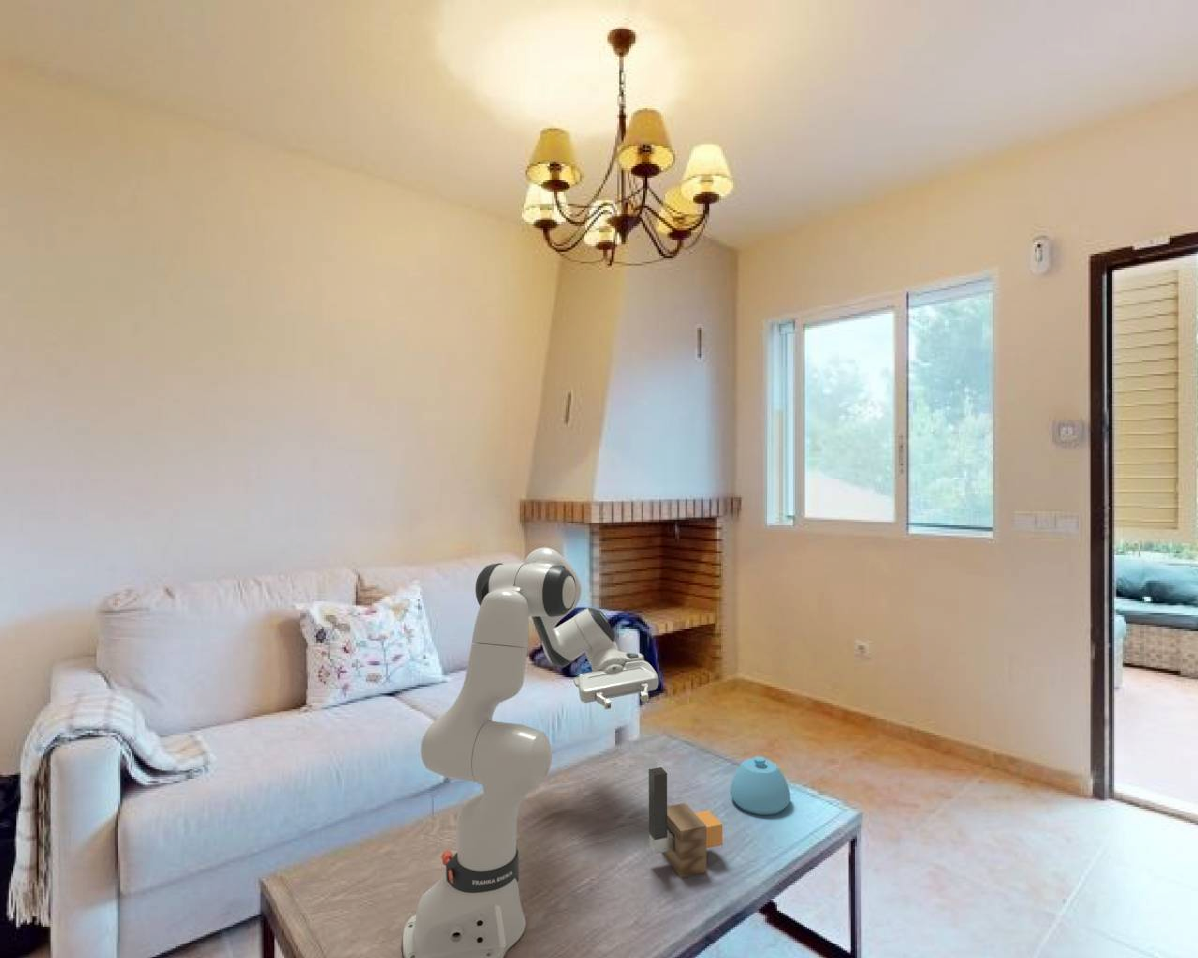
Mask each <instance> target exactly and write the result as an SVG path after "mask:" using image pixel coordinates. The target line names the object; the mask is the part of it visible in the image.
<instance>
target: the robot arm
mask: <svg viewBox="0 0 1198 958" xmlns="http://www.w3.org/2000/svg"><path fill="white" fill-rule="evenodd" d="M474 589H475V597H476V600H477V603H478V604H479V609H478V612H477V613H478V614H477V615H476V620H475V624H474V626H473V627H474V628H473V632H472V636H471V637H472V639H471V646H470V652H469V658H468V663H467V668H466V674H465V677H464V681H463V685H462V688H461V690H460V692H459V694H458V695H457V698H456V700H455V701H454V702H453V704H452V705H451V707H449V709H448V710H446V712H445V713H444V714H442V715H441V716H440V717H438V718H437V719H436V720H434V721H433V722H432V723H431V724H430V725H429V727H427V730H426V731H425V733H424V734H423V736H422V740H421V743H420V744H421V746H420V755H421V760H422V763H423V765H424V767H425V768H426V770H428V771H429V772H432V773H435V774H437V775H439V776H442V777H444V778H446V779H450V780H456V781H464V782H469V783H470V782H471V783H477V784H479V785H481V787H482V793H481V794H479V795H476V796H474V797H473V798H471V799H470V800H469V801H468V800H467V802H466V803H464V805H463V806H462V807H461V809H460V810H459V813H458V816H457V819H456V853H455V854H454V855H453V853H452V851H451V850H445V851H443V853H442V854H441V860H442V865H444V866H445V875H444V876H443V877H442V878H441V879H439V880H438V881H437V882H436V883H435V884H433V885H432V886H431V887H429V889H427V890H426V891H425V892H424V893H423V895H422V896H421V898H420V900H419V902H418V904H417V905H418V906H417V908H416V914H414V915H412V916H411V917H410V918H409V919H408V920H407V922H406V924H405V926H404V929H403V934H402V953H403V958H504V957H505V955H506V953H507V951H508V950H509V949H510V948H511V947H512V946H513V945H515V944H516V943H517V942H518V940H520V939H521V937H522V935H523V934H524V932H525V929H526V925H527V922H526V917H525V914H524V910H523V907H522V901H521V897H520V888H519V880H520V879H519V877H520V853H519V850H518V846H517V829H518V828H517V827H518V817H519V816H518V813H519V810H520V807H521V804H522V803H523V800H524V799H525V797H526V796H527V795H528V794H529V792H530V791H532V790H533V789H534V788H536V787H538V786H539V785H540V784H542V782H543V781H544V780H545V778H546V777H547V776H548V774H549V772H550V769H551V766H552V761H553V750H552V745H551V742H550V740H549V737H548V736H547V735H546V733H545V732H544V731H541V730H538V729H536V728H533V727H531V726H528V725H525V724H522V723H521V724H520V723H512V722H505V721H504V722H503V721H495V720H493V717H494V713H495V711H496V709H497V707H498V706H499V704H500V703H503V702H506V701H507V700H510V699H512V698H514V697H515V696H516V695H517V694H519V692H520V691H521V689H522V688H523V686H524V680H525V673H526V672H525V671H526V666H527V656H528V648H529V647H528V646H529V633H530V620H529V619H530V617H531V618H532V621H533V623H534V625H535V629H536V631H537V633H538V636H539V638H540V640H541V645H542V649H543V653H544V654H545V657H546V659H547V660H548V662H550V663H551V664H552V665H553V666H555V667H559V668H560V667H562V668H565V667H567V666H568V665H570V664H571V663H573V662H574V661H575V660H576V659H578V658H579V657H581V656H582V655H584V654H585V656H586V659H587V661H588V663H589V664H590V666H591V670H592V671H591V672H585V673H581V674H578V675H577V676H575V677H574V678H573V683H574V685H575V686H576V688H578V694H579V698H580V701H581V702H582V703H584V704H589V703H590V704H591V703H594V702H596V703H597V704H600V705H601V706H603V708H604V710H609V709H612V701H611V700H610V699H615V698H618V697H624V696H629V695H633V694H639V693H640V700H641V702H649V693H648V692H650V691H654V690H657V689H658V686H659V676H658V673H657V671H656V670H655V668H654V667H653V666H652V664H650V663H649V661H646V660H645V659H644V655H643V654H642V653H638V652H637V653H635V652H633V653H632V652H623V651H620V650H619V647H618V645H617V642H616V641H615V639H616V638H615V637H616V636H615V635H616V634H615V631H614V630H613V628H612V626H611V624H610V622H609V621H608V618H607V617H606V615H604V613H603V612H602V611H601V610H599V609H597V608H593V607H588V608H585V609H584V610H582V611H581V612H579V613H577V614H575V615H573V617H571V618H569V619H568V620H566V621H565V622H563V623H561V624H559V625H558V626H556V625H557V624H558V623H559V622H560V621H561V620H562V619H564V618H565V617H566V616H568V615H569V614H570V613H572V611H573V610H574V609H575V608H576V607H577V605H578V604H579V602H580V600H581V597H582V584H581V582H580V578H579V577H578V575H577V573H576V571H575V569H574V568H573V567H572V565H571V564H570V563H569V561H567V559H566V558H565V557H563V555H562V554H560V553H559V552H558V551H556V550H554V549H553V548H550V547H538V548H536V549H534V550H533V551H531V552H529V554H528V555H526V557H525V559H524V560H523V562H515V563H514V562H513V563H505V564H504V563H500V562H499V563H492V564H490V565H487V566H485V567H484V568H483V569H482V570H481V572H479V574H478V576H477V578H476V582H475V588H474ZM555 626H556V627H555Z"/></svg>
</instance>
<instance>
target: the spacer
mask: <svg viewBox="0 0 1198 958" xmlns="http://www.w3.org/2000/svg"><path fill="white" fill-rule="evenodd" d="M694 813H695V814H696V815H697V816H698V817H699V819H700V820H701V821H702V822H703V823H704V824H705V825H706V849H709V848H710V849H711V848H715V847H719V846H722V845H723V823H722V822H721V821H720V820H719V819H718V818H717V817H716V816H715V815H714V814H713V813H712V812H711V811H710V810H709V809H707V810H702V811H696V812H694Z"/></svg>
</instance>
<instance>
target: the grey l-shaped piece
mask: <svg viewBox="0 0 1198 958" xmlns="http://www.w3.org/2000/svg"><path fill="white" fill-rule="evenodd" d="M667 806H668V772H667V771H665V769H664V768H663V767H662V766H659V767H653V768H649V769H648V847H649V849H650V850H651V851H652V852H653V854H654V855H657V854H658V855H659V854H663V853H662V852H667V851H671V850H675V835H674V834H673V833H672V832H671V830H670V829H667Z"/></svg>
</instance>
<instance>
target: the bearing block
mask: <svg viewBox="0 0 1198 958" xmlns="http://www.w3.org/2000/svg"><path fill="white" fill-rule="evenodd" d="M695 813H696V812H694V811H693V810H692V808H690V806H689V805H688V804H687V803H686V802H682V803H678V804H672V805H667V829H670V830H671V832H672V833H673V834H674V835H675V850H671V851H667V852H662V853H661V854H662V855H664V857H665V858H666V860H667V861H668V862H669V864H670V865H671V867H672V868H673V869H674V870H675V872H676V873H677V875H678V876H679V877H680V879H683V878H687V877H691V876H696V875H698V874H699V875H700V874H705V873H707V848H706V825H705V824H704V823H703V822H702V821H701V820H700V819H699V817H698V816H697V815H696V814H695Z"/></svg>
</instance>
